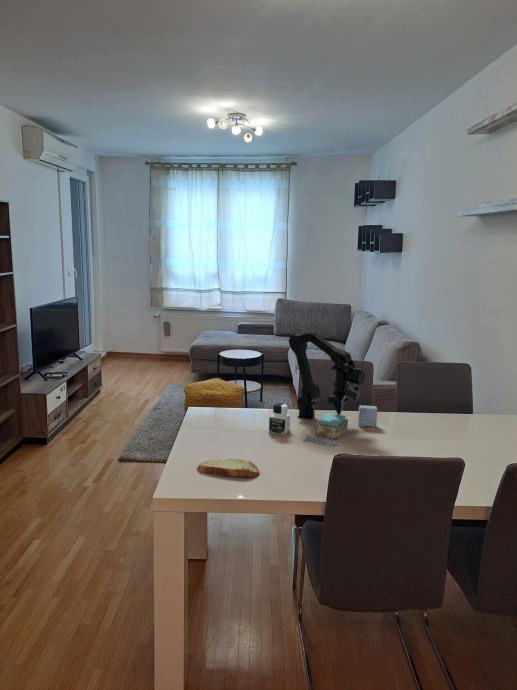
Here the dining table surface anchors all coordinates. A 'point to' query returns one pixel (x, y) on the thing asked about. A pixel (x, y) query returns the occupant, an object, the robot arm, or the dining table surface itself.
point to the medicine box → (367, 416)
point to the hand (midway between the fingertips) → (338, 414)
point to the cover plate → (332, 420)
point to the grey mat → (322, 441)
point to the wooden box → (331, 430)
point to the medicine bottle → (279, 419)
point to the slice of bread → (229, 468)
